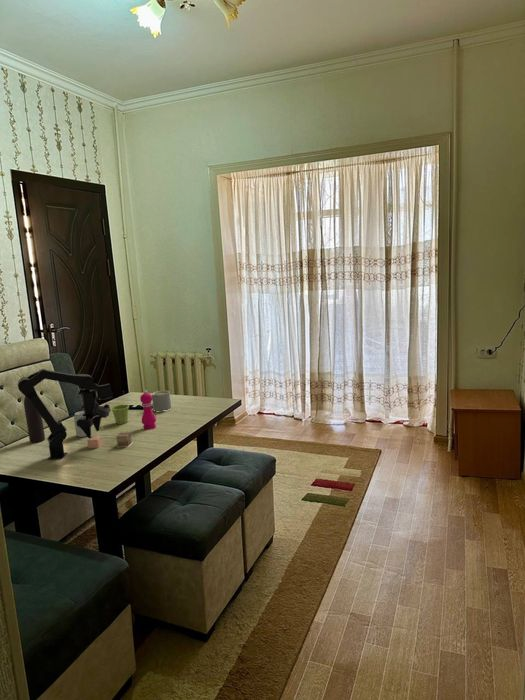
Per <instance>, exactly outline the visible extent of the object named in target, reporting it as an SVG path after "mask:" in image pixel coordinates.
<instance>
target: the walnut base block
mask: <svg viewBox="0 0 525 700" xmlns="http://www.w3.org/2000/svg"><path fill="white" fill-rule="evenodd" d="M132 439H133V438H132V432H130V431H127V432H123V431H122V432H119V433H118V434H117V435H116V442H117V443H116V444H117V446H118V447H117V448H124V447H123V446H129V445H130V444H131V443H132V442H133V440H132ZM132 444H133V443H132ZM132 444H131V445H132ZM131 445H130V446H131ZM130 446H129V447H130Z"/></svg>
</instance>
